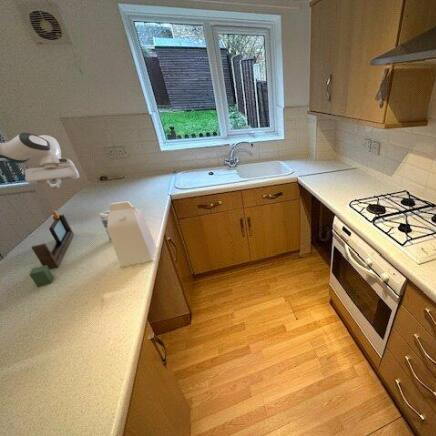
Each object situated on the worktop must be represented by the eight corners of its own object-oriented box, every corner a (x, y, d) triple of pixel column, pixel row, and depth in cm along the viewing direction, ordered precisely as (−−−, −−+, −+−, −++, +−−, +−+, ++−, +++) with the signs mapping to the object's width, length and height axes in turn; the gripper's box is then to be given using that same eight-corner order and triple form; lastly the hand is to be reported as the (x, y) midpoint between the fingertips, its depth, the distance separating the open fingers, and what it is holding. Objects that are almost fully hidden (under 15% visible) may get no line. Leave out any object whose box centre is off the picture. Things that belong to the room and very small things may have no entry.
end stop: (40, 280, 93) (32, 268, 90) (54, 276, 95) (46, 264, 92) (37, 286, 90) (29, 274, 87) (51, 283, 91) (43, 270, 89)
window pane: (64, 233, 120) (52, 209, 114) (67, 232, 121) (55, 209, 115) (58, 245, 110) (44, 220, 104) (61, 244, 111) (47, 220, 105)
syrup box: (109, 240, 118) (97, 214, 111) (119, 234, 123) (109, 209, 116) (118, 242, 117) (107, 215, 110) (128, 235, 122) (118, 210, 115)
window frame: (64, 236, 122) (53, 216, 116) (74, 234, 124) (63, 214, 118) (45, 270, 98) (31, 247, 92) (58, 267, 100) (44, 244, 94)
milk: (156, 246, 113) (139, 195, 101) (152, 260, 103) (133, 206, 91) (126, 251, 109) (106, 199, 97) (120, 267, 100) (96, 210, 88)
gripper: (20, 164, 118) (23, 188, 115) (73, 158, 126) (77, 181, 123) (28, 170, 123) (31, 194, 120) (78, 165, 132) (82, 187, 129)
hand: (55, 187), depth 122 cm, fingers closed
